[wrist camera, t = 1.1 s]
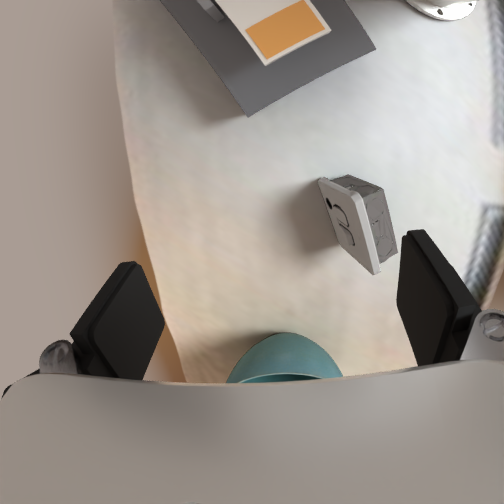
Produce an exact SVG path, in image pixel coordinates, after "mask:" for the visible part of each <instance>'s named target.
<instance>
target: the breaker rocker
mask: <svg viewBox="0 0 504 504" xmlns="http://www.w3.org/2000/svg"><path fill="white" fill-rule="evenodd" d="M215 1H216V2H217V4H218V5H219V6H220V7H221V8H222V10H223V11H224V12H225V13H226V15H227V16H228V17H229V18H230V20H231V21H232V22H233V23H234V25H235V26H236V27H237V28H238V30H239V31H240V32H241V34H242V35H243V36H244V38H245V39H246V40H247V42H248V43H249V44H250V46H251V47H252V48H253V50H254V51H255V52H256V54H257V55H258V57H259V58H260V59H261V61H262V62H263V64H264V65H265V66H267V65H269V64H270V63H272V62H274V61H276V60H277V59H279V58H281V57H283V56H285V55H287V54H288V53H290V52H292V51H294V50H296V49H298V48H300V47H302V46H304V45H305V44H307V43H309V42H311V41H313V40H315V39H317V38H319V37H322V36H324V35H326V34H328V33H330V31H331V29H330V27H329V26H328V25H327V23H326V22H325V20H324V19H323V18H322V16H321V15H320V13H319V12H318V11H317V9H316V8H315V7H314V5H313V4H312V3H311V1H310V0H215Z"/></svg>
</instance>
